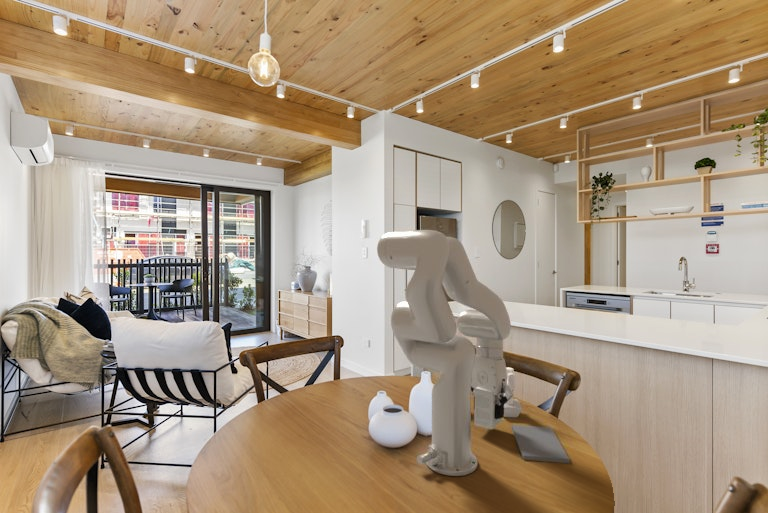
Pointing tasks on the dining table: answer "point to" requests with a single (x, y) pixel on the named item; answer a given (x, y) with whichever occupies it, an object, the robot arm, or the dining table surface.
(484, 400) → the small box
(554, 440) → the mat
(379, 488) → the dining table surface
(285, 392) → the dining table surface
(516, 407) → the figurine
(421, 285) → the robot arm
